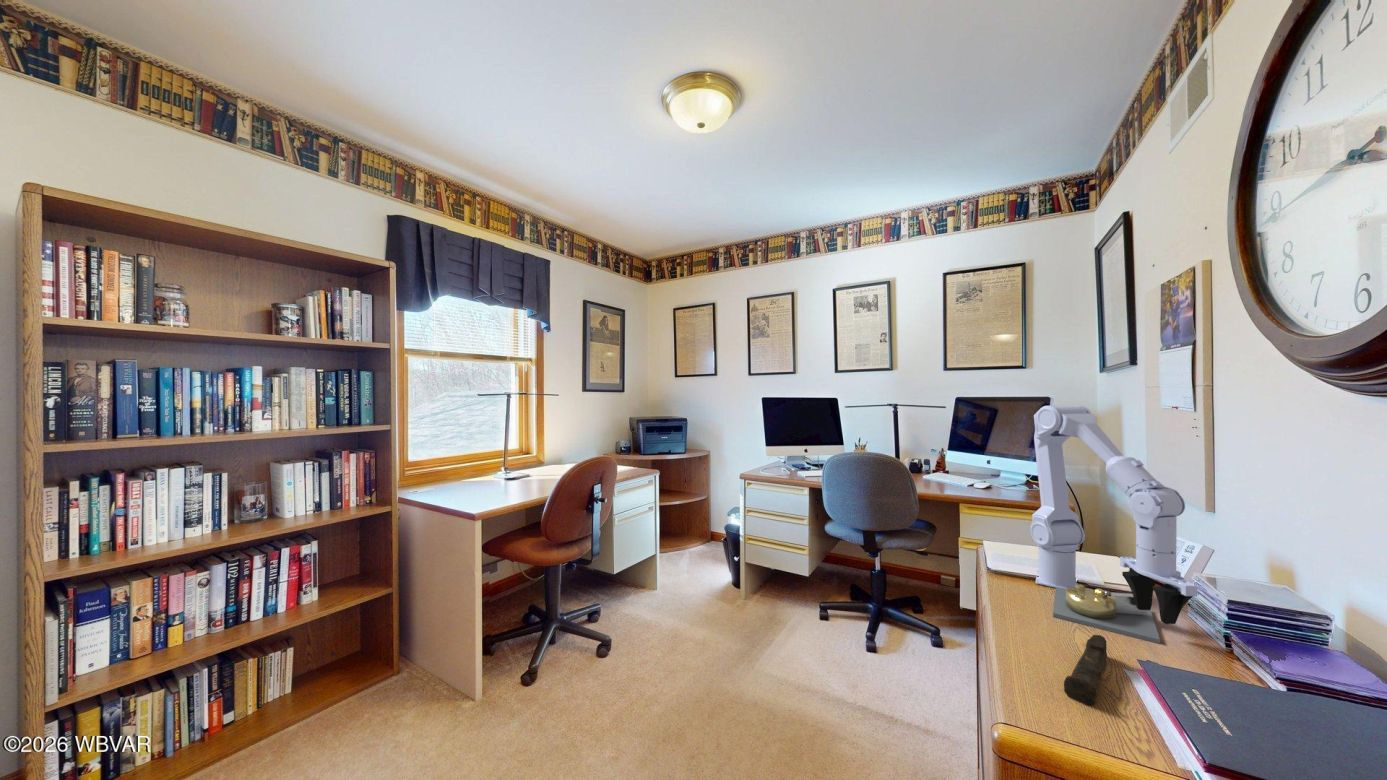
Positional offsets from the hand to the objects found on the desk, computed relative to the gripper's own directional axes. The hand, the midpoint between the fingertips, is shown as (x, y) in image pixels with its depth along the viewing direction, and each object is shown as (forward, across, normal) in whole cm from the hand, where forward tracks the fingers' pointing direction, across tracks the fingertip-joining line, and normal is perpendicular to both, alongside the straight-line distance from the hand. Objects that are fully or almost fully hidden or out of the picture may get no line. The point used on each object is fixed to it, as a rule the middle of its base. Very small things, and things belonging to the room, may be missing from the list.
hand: (1155, 615), depth 92 cm
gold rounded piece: (+2, +5, +5) cm, 8 cm away
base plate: (+3, +6, +6) cm, 9 cm away
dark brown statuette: (+3, -16, +24) cm, 30 cm away
